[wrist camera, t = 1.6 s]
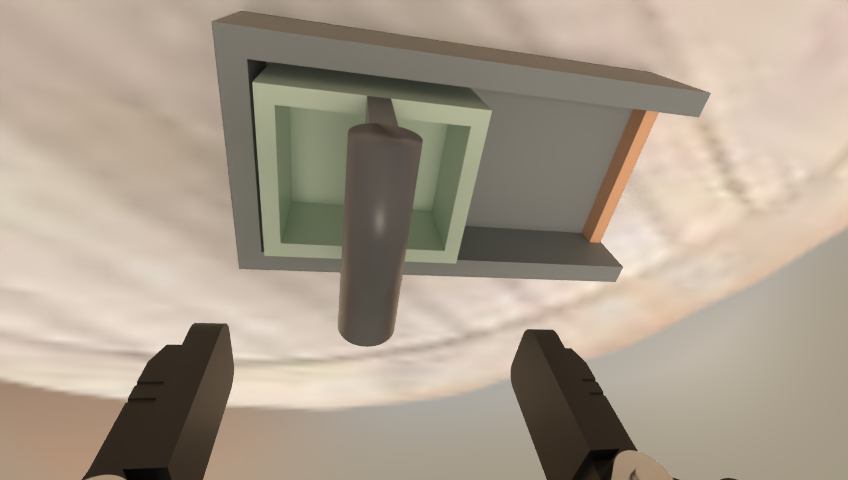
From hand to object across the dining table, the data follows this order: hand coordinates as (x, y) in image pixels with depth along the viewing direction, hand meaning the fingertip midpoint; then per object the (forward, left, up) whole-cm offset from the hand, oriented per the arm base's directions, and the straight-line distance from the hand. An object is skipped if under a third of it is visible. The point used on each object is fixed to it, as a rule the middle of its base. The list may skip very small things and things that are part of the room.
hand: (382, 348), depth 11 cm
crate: (0, 0, -15) cm, 15 cm away
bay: (0, +5, -16) cm, 17 cm away
